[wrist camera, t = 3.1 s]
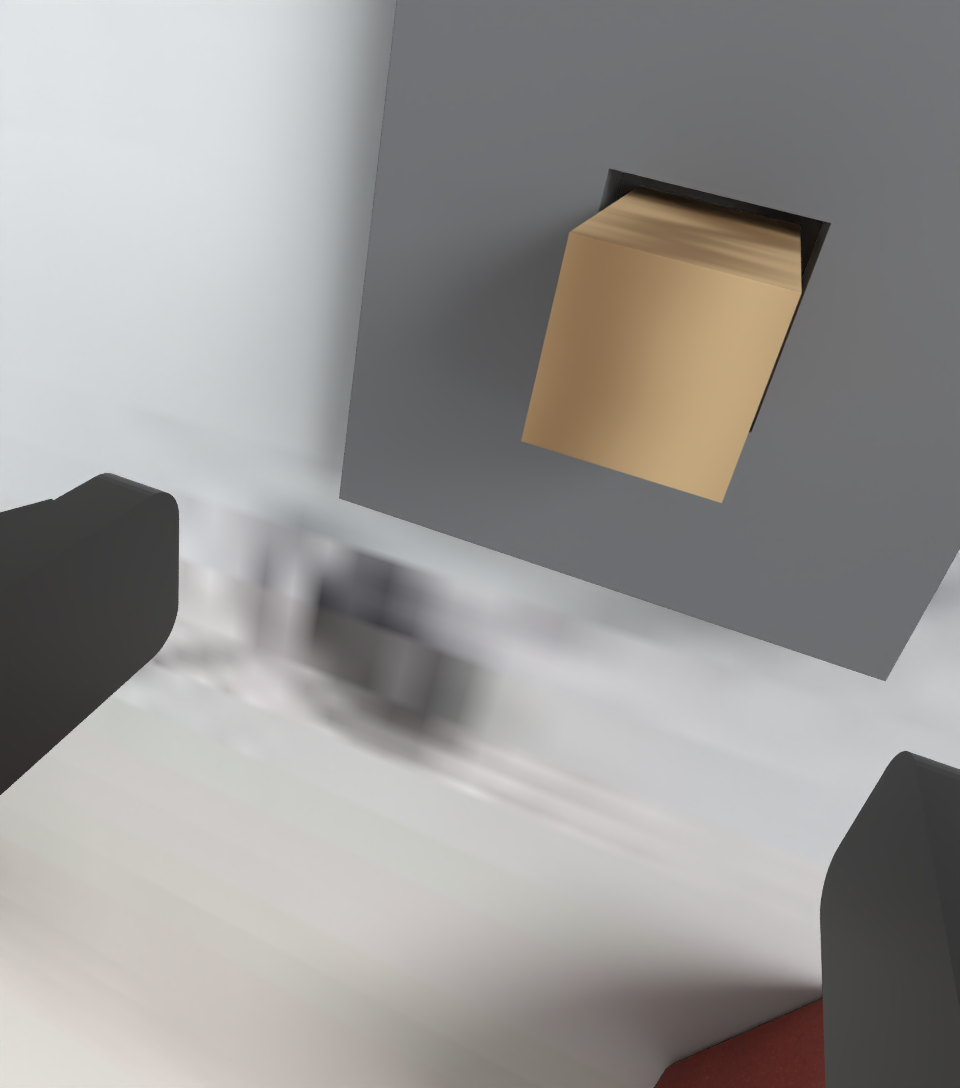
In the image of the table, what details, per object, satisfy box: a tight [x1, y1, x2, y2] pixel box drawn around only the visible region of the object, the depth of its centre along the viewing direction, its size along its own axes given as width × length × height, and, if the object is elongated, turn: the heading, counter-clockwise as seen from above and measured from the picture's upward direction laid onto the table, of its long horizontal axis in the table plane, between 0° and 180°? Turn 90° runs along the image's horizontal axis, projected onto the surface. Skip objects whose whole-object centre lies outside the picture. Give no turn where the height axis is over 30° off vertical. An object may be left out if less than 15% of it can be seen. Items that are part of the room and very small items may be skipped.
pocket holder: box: [339, 0, 960, 681], centre depth 27 cm, size 20×20×3 cm
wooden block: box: [521, 185, 802, 503], centre depth 24 cm, size 5×5×10 cm
